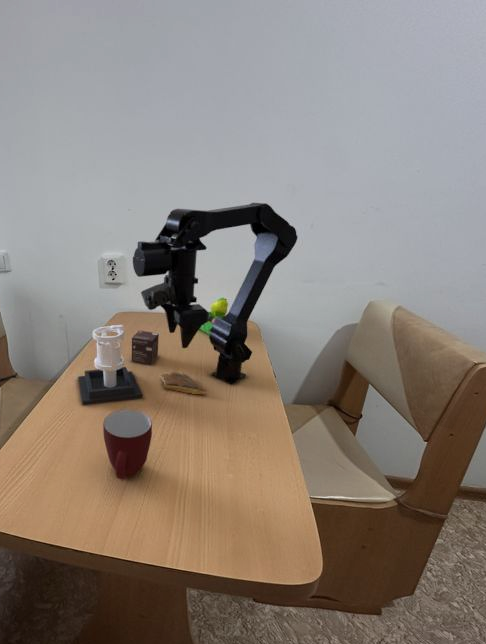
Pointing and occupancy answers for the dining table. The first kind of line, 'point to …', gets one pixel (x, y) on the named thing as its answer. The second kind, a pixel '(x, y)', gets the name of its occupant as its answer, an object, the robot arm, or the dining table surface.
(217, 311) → the fruit basket
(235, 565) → the dining table surface
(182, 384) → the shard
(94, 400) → the dock pad
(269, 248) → the robot arm
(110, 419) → the mug
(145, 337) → the box
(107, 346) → the white stemmed open cylinder
